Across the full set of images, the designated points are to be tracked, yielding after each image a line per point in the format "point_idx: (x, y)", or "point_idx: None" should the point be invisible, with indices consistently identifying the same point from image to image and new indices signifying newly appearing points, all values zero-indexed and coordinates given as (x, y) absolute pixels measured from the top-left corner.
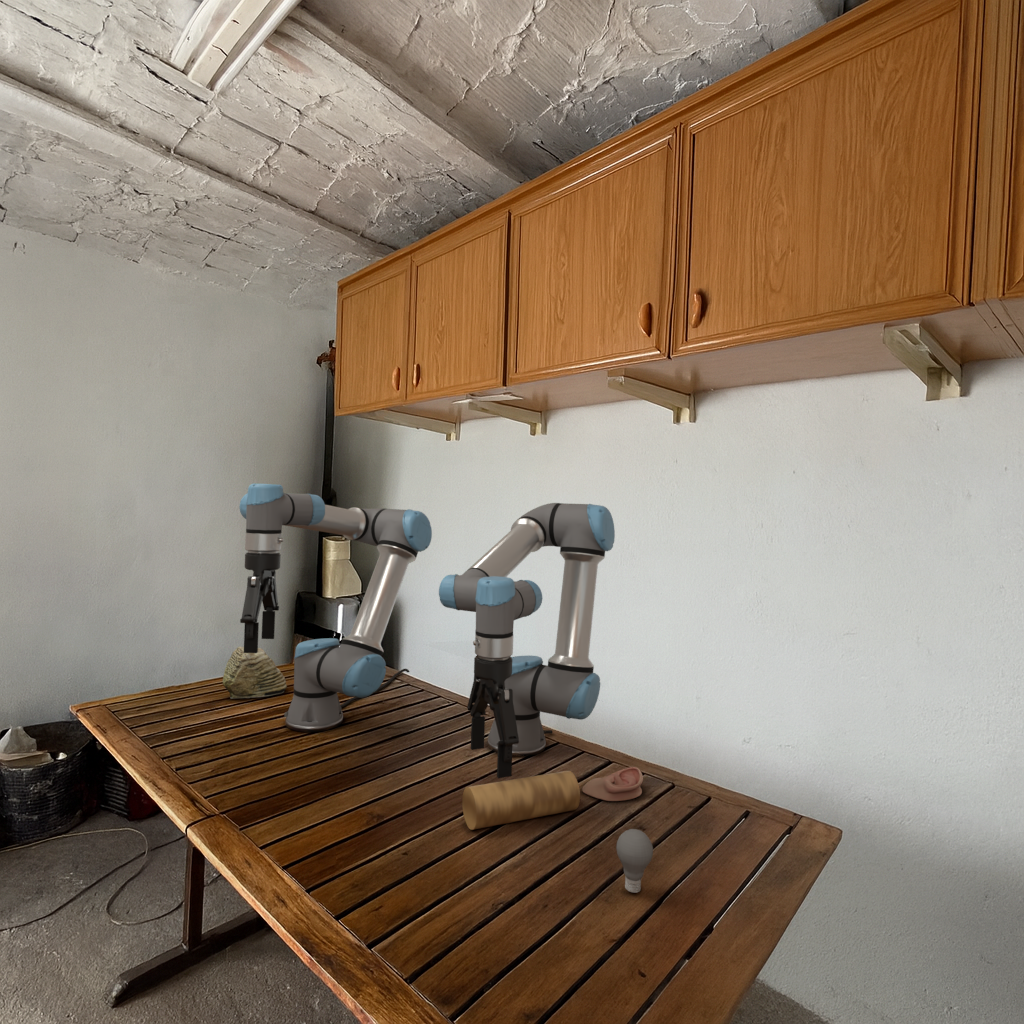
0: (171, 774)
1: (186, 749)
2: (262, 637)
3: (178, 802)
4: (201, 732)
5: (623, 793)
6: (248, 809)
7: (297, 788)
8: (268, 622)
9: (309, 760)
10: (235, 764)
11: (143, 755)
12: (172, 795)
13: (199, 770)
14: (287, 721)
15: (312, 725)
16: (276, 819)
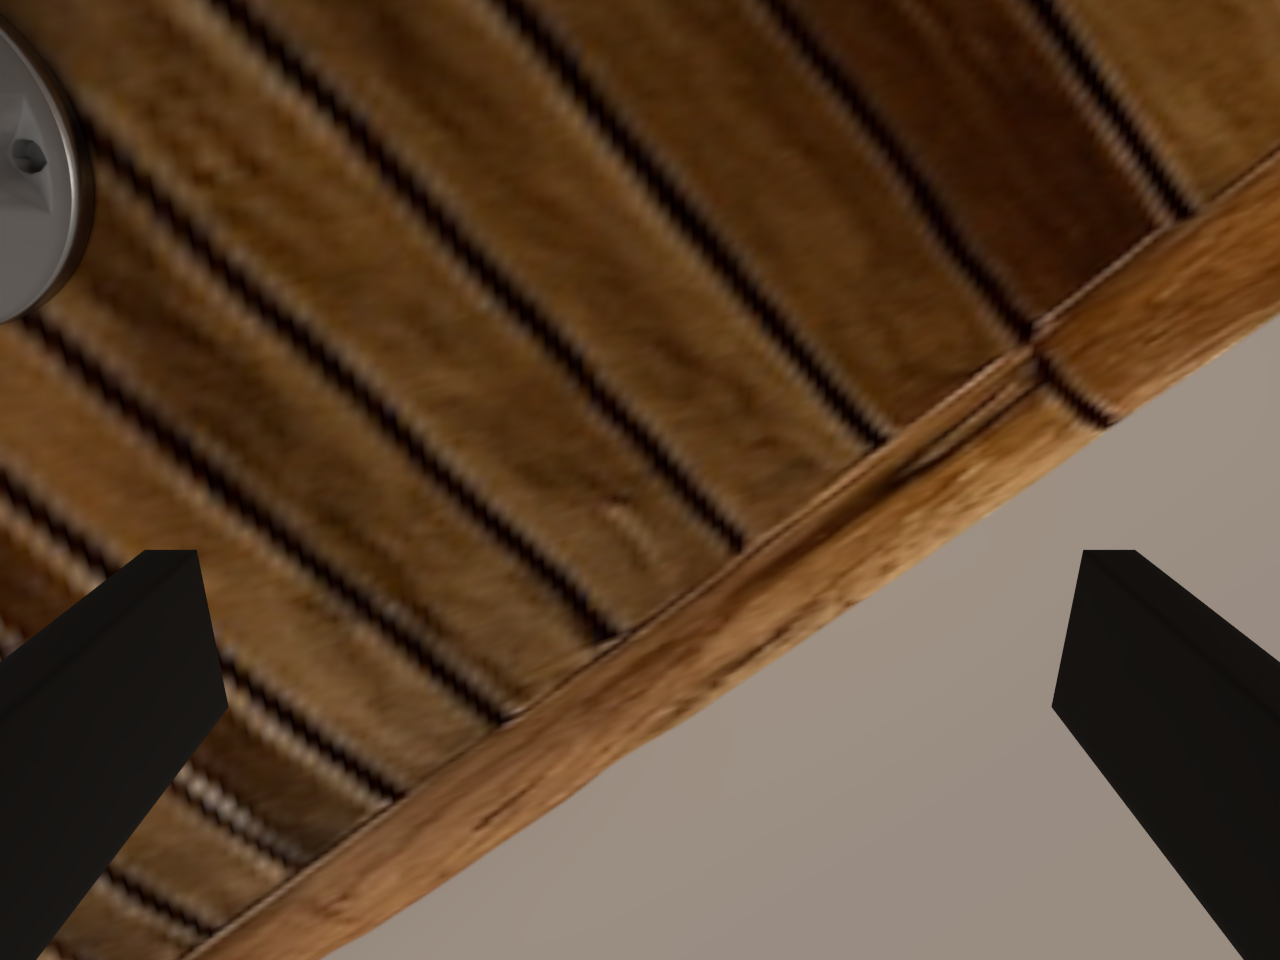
0: (655, 639)
1: (402, 673)
2: (215, 708)
3: (909, 527)
4: None
5: None
6: (1015, 234)
7: (829, 51)
8: (33, 814)
9: (486, 62)
10: (551, 427)
11: (476, 794)
12: (846, 569)
13: (617, 552)
14: (21, 308)
15: (57, 134)
16: (1133, 78)
